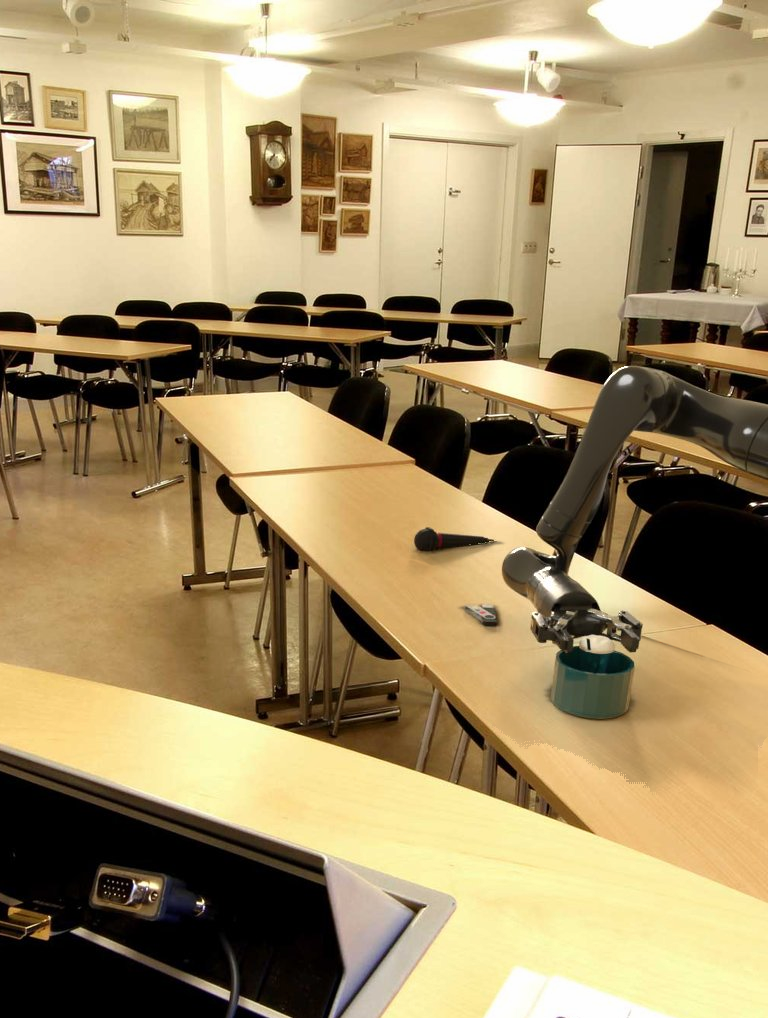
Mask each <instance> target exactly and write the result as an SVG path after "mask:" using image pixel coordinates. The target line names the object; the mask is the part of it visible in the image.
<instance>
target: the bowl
mask: <svg viewBox="0 0 768 1018" xmlns="http://www.w3.org/2000/svg"><path fill="white" fill-rule="evenodd" d="M635 669H636V666H635V661H634V660H633V659H632V658H631V657H630V656H629V655H627V654H625V653H623V652H621V651H618V650H615V649H614V652H613V656H612V659H611V663H610V667H609V672H608V674H598V673H589V672H584V671H580V670H579V645H573V651H572V653H565V651H564V650H561V649H559V651H557V652H556V653H555V659H554V666H553V675H552V676H553V677H552V683H551V684H552V685H551V691H550V692H551V693H550V701H551V703H552V704H553V705H554V706H555V707H556V708H558V709H559V710H561V711H562V712H565V713H567V714H570V715H573V716H578V717H582V718H585V719H586V718H587V719H599V720H600V719H601V720H602V719H603V720H604V719H612V718H617V717H620V716H622V715H624V714H625V713H627V711H628V709H629V706H630V702H631V701H630V699H631V693H632V687H633V680H634V673H635Z"/></svg>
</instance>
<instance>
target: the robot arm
mask: <svg viewBox="0 0 768 1018" xmlns="http://www.w3.org/2000/svg"><path fill="white" fill-rule="evenodd" d="M593 405H594V406H593V409H592V411H591V413H590V416H589V419H588V422H587V424H586V426H585V429H584V431H583V434H582V437H581V439H580V441H579V444H578V446H577V449H576V451H575V454H574V456H573V458H572V461H571V463H570V464H569V467H568V469H567V471H566V473H565V475H564V478H563V479H562V482H561V484H560V485H559V487H558V488H557V491H556V492H555V494H554V495H553V497H552V499H551V501H550V502H549V504H548V506H547V507H546V509H545V511H544V513H543V515H542V516H541V517H540V519H539V522H538V524H537V525H536V529H535V531H536V534H537V536H538V538H539V539H540V540H541V541H543V542H544V543H546V544H547V545H548V546H550V547H552V548H553V551H552V553H551V555H550V554H547V553H544V552H541V551H539V550H536V549H533V548H530V547H527V546H519V547H516V548H514V549H512V550H511V551H509V552H508V553H507V554H506V556H505V557H504V559H503V560H502V564H501V576H502V579H503V582H504V583H505V585H506V586H507V587H508V588H510V590H512V591H514V592H515V593H517V594H518V595H520V596H521V597H524V598H525V599H527V600H528V601H530V603H531V604H532V606H533V607H534V608H535V609H536V611H534V612H532V613H531V619H530V626H529V627H530V628H529V629H530V631H531V633H532V635H533V636H534V638H535V640H536V641H537V642H538V643H539V644H546V643H547V642H548V641H549V642H551V644H552V645H556V646H557V647H558V649H559V650H564V651H565V653H572V651H573V646H574V642H575V641H574V639H575V640H576V639H580V638H583V637H585V636H589V635H597V636H605V637H608V638H609V639H610V640H611V641H612V642H613V641H615V642H618V643H620V644H621V646H623V647H624V649H626V651H627V652H628V653H636V652H637V650H639V646H640V641H641V640H642V631H643V627H644V624H643V623H642V622H641V621H640V620H639V619H637V618H636V617H635V616H633V615H632V614H631V613H630V612H628V611H626V610H619V611H618V615H610V614H608V613H606V612H604V611H602V610H601V607H600V604H599V603H598V601H597V599H596V598H595V597H594V595H592V594H591V593H590V592H589V591H588V590H587V589H586V588H584V586H582V585H581V583H579V582H578V581H577V580H575V579H573V578H572V577H571V576H570V575H569V572H570V569H571V566H572V563H573V562H572V561H573V558H574V555H575V552H576V549H577V547H578V544H579V542H580V540H581V539H582V537H583V536H584V535H585V532H586V530H587V529H588V527H589V525H590V524H591V523H592V521H593V519H594V518H595V516H596V514H597V512H598V510H599V507H600V505H601V503H602V499H603V496H604V493H605V489H606V484H607V480H608V477H609V472H610V470H611V467H612V464H613V462H614V460H615V458H616V456H617V454H618V453H619V451H620V450H621V448H622V446H623V445H624V444H625V443H626V441H627V440H628V439H629V437H630V436H631V435H632V434H633V432H634V431H635V432H642V433H643V432H644V433H650V434H651V433H652V434H657V435H663V436H667V437H670V438H675V439H678V440H682V441H686V442H688V443H692V444H695V445H696V446H699V447H701V448H703V449H704V450H706V451H708V452H709V453H710V454H712V455H714V456H715V457H717V458H718V459H720V460H721V461H723V462H724V463H725V464H728V465H729V466H731V467H733V468H736V469H738V470H739V471H742V472H744V473H747V474H750V475H752V476H755V477H758V478H761V479H764V480H766V481H768V404H766V403H762V402H757V401H753V400H747V399H740V398H733V397H727V396H722V395H719V394H716V393H713V392H710V391H708V390H705V389H703V388H700V387H699V386H695V385H693V384H691V383H689V382H687V381H685V380H683V379H681V378H679V377H676V376H674V375H672V374H670V373H668V372H666V371H663V370H660V369H657V368H652V367H646V366H641V365H628V366H624V367H621V368H618V369H617V370H615V371H614V372H613V373H612V374H610V375H609V377H608V378H607V379H606V380H605V382H604V384H603V385H602V387H601V389H600V391H599V393H598V395H597V398H596V401H595V403H594V404H593ZM605 631H606V633H604V632H605ZM617 632H620V634H618V633H617Z"/></svg>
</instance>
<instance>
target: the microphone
mask: <svg viewBox="0 0 768 1018" xmlns="http://www.w3.org/2000/svg"><path fill="white" fill-rule="evenodd" d="M494 540H495V539H493V538H488V537H485V536H482V535H481V536H480V535H471V534H459V533H458V534H457V533H445V532H438V533H437V531H435V530H434V529H433V528H432V527H430V526H429V527H428V526H426V527H425V528H422V529H420V530H418V531H417V532H416V533H415V535H414V537H413V543H414V547H415V549H416V550H418V551H421V552H428V553H431V552H434V550H436V549H450V548H451V549H452V548H462V547H471V546H477V545H478V546H479V545H481V544H478V543H485V542H489V541H494ZM469 544H471V545H469ZM485 544H486V543H485Z"/></svg>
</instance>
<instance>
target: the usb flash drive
mask: <svg viewBox="0 0 768 1018" xmlns="http://www.w3.org/2000/svg"><path fill="white" fill-rule="evenodd" d="M463 608H464V611H465V612H467V613H468V614H470V615H471V616H472V617H474V618H476V619H478V620H479V621H481V622H482V626H484V627H496V626H497V624H498V622H497V621H498V620H497V614H496V608H495V607H494V604H493V603H491V604H489V603H486V604H485V603H482V605H481V606H479V605H478V604H476V603H474V604H467V605H464V606H463Z"/></svg>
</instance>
